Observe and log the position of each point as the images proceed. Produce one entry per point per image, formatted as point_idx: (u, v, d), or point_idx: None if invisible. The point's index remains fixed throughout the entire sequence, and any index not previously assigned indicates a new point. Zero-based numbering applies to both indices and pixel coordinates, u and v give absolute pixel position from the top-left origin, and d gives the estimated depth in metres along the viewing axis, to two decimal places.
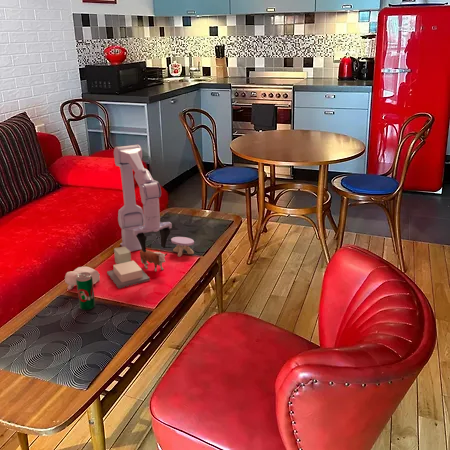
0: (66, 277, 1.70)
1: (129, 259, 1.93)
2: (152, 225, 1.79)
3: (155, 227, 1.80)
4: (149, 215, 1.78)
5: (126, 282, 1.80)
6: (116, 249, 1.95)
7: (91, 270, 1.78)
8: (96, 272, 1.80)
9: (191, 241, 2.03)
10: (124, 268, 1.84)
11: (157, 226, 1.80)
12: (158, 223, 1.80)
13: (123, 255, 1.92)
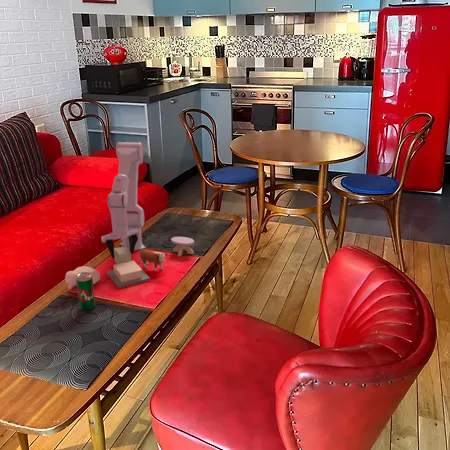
0: (66, 277, 1.71)
1: (129, 259, 1.93)
2: (120, 232, 1.88)
3: (123, 234, 1.89)
4: (113, 222, 1.87)
5: (126, 282, 1.80)
6: (116, 249, 1.95)
7: (91, 270, 1.78)
8: (96, 272, 1.80)
9: (191, 241, 2.03)
10: (124, 268, 1.84)
11: (125, 233, 1.89)
12: (126, 230, 1.90)
13: (123, 255, 1.92)
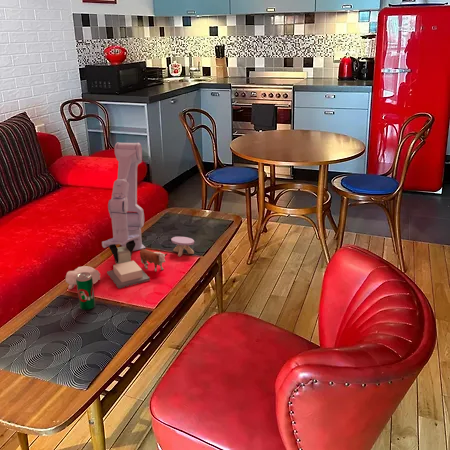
0: (67, 276, 1.71)
1: (129, 259, 1.93)
2: (120, 237, 1.89)
3: (123, 240, 1.90)
4: (114, 228, 1.88)
5: (126, 282, 1.80)
6: None
7: (92, 270, 1.78)
8: (97, 272, 1.80)
9: (191, 241, 2.03)
10: (124, 268, 1.84)
11: (125, 239, 1.90)
12: (126, 236, 1.90)
13: (123, 255, 1.92)
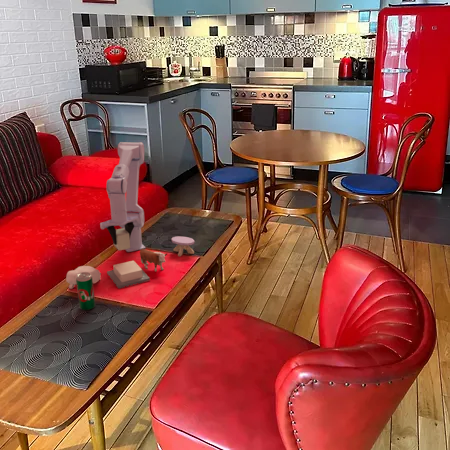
0: (67, 276, 1.71)
1: (128, 241, 1.90)
2: (119, 219, 1.86)
3: (122, 221, 1.86)
4: (112, 209, 1.85)
5: (126, 282, 1.80)
6: None
7: (92, 269, 1.78)
8: (97, 271, 1.80)
9: (191, 241, 2.03)
10: (124, 268, 1.84)
11: (124, 220, 1.87)
12: (125, 217, 1.87)
13: (122, 237, 1.88)
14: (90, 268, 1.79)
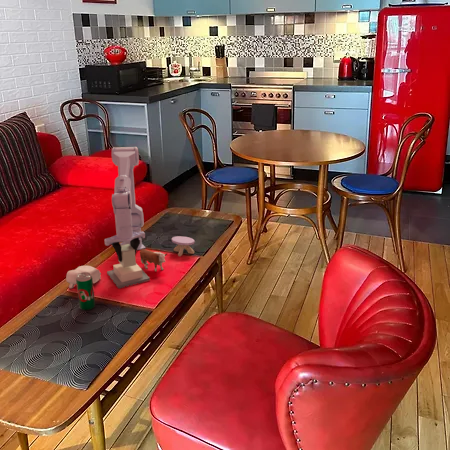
0: (67, 276, 1.71)
1: (133, 257, 1.81)
2: (124, 235, 1.77)
3: (127, 237, 1.77)
4: (118, 225, 1.76)
5: (126, 282, 1.80)
6: None
7: (92, 269, 1.79)
8: (97, 271, 1.80)
9: (191, 241, 2.03)
10: (124, 268, 1.84)
11: (129, 236, 1.78)
12: (130, 233, 1.78)
13: (127, 253, 1.79)
14: (90, 268, 1.79)
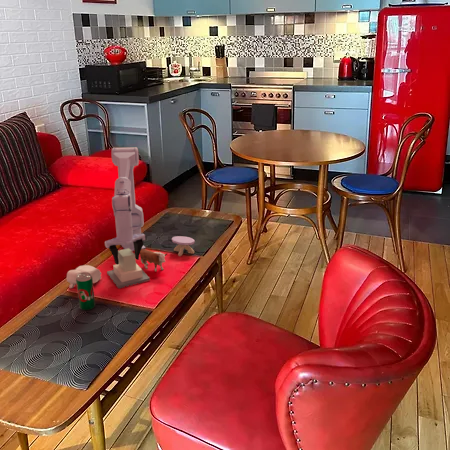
0: (68, 276, 1.71)
1: (134, 262, 1.82)
2: (125, 237, 1.77)
3: (127, 239, 1.78)
4: (118, 227, 1.76)
5: (126, 282, 1.80)
6: (120, 251, 1.83)
7: (92, 269, 1.79)
8: (97, 271, 1.80)
9: (192, 240, 2.04)
10: None
11: (129, 238, 1.78)
12: (130, 235, 1.78)
13: (127, 258, 1.80)
14: (90, 267, 1.79)
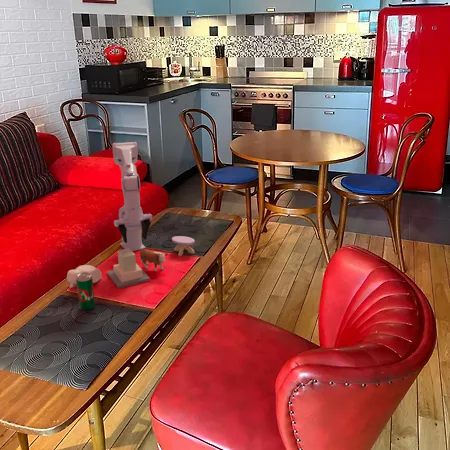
0: (68, 275, 1.72)
1: (134, 262, 1.82)
2: (133, 216, 1.86)
3: (135, 219, 1.86)
4: (128, 207, 1.84)
5: (126, 282, 1.80)
6: (120, 251, 1.83)
7: (93, 268, 1.79)
8: (98, 270, 1.81)
9: (192, 240, 2.04)
10: None
11: (137, 218, 1.87)
12: (138, 215, 1.87)
13: (127, 258, 1.80)
14: (91, 267, 1.79)
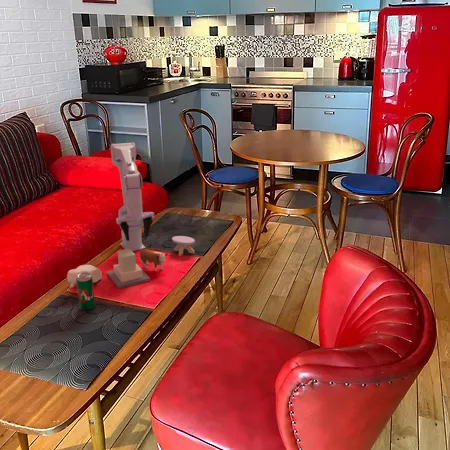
0: (68, 275, 1.72)
1: (134, 262, 1.82)
2: (135, 214, 1.88)
3: (138, 216, 1.88)
4: (130, 204, 1.86)
5: (126, 282, 1.80)
6: (120, 251, 1.83)
7: (93, 268, 1.79)
8: (98, 270, 1.81)
9: (192, 240, 2.04)
10: None
11: (139, 215, 1.89)
12: (140, 212, 1.89)
13: (127, 258, 1.80)
14: (91, 267, 1.79)
